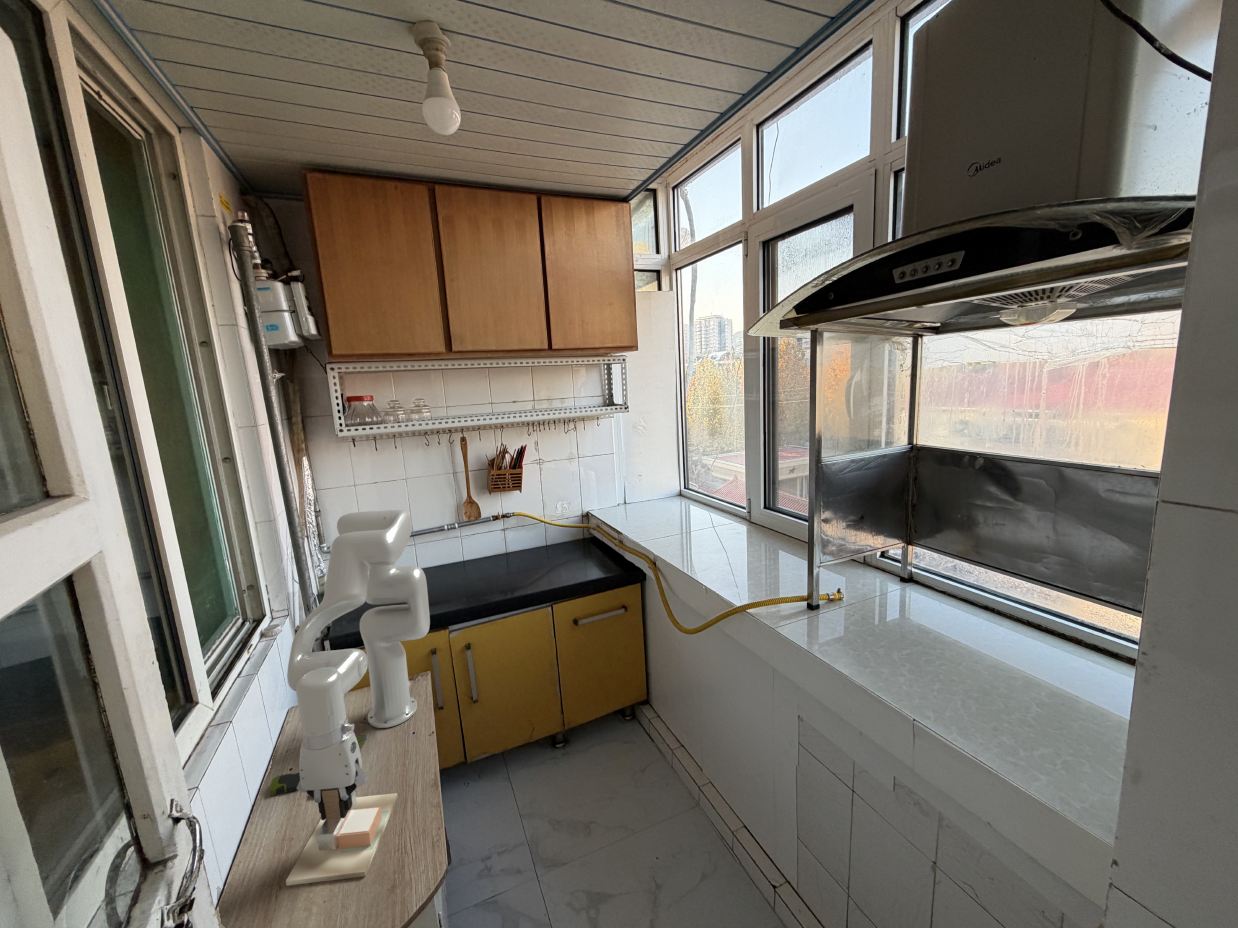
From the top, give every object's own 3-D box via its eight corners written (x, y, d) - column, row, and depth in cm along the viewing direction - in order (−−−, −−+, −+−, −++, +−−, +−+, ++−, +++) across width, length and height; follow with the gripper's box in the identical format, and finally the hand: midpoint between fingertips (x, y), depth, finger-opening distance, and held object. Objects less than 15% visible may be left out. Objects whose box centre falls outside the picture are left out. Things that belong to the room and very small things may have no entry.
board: (332, 803, 108) (331, 799, 108) (397, 796, 110) (397, 792, 110) (286, 885, 91) (285, 880, 90) (365, 875, 92) (364, 871, 92)
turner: (342, 806, 105) (336, 765, 103) (357, 804, 105) (351, 763, 103) (319, 850, 95) (312, 806, 93) (335, 848, 95) (328, 804, 93)
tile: (352, 821, 102) (350, 808, 102) (382, 818, 103) (380, 805, 102) (339, 848, 96) (337, 835, 96) (370, 845, 97) (369, 831, 97)
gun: (313, 741, 129) (370, 740, 129) (261, 801, 110) (329, 800, 110) (312, 732, 128) (369, 732, 129) (260, 791, 110) (328, 790, 110)
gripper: (376, 715, 100) (385, 793, 104) (292, 722, 99) (304, 801, 102) (361, 741, 93) (371, 824, 96) (270, 749, 92) (283, 834, 95)
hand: (336, 812), depth 99 cm, fingers closed on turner, 3 cm apart
